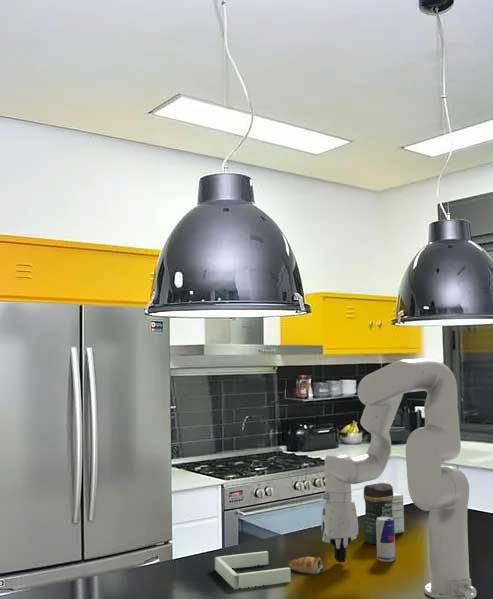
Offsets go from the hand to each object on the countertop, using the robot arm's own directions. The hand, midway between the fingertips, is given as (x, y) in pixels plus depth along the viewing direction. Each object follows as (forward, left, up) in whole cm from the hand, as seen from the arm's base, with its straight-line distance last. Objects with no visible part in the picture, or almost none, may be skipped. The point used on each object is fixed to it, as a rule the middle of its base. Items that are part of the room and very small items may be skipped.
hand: (340, 560), depth 206 cm
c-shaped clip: (0, +27, -1) cm, 27 cm away
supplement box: (+28, -33, -1) cm, 43 cm away
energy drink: (-1, -15, -1) cm, 15 cm away
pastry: (-1, +11, -1) cm, 11 cm away
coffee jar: (+17, -23, -1) cm, 28 cm away
